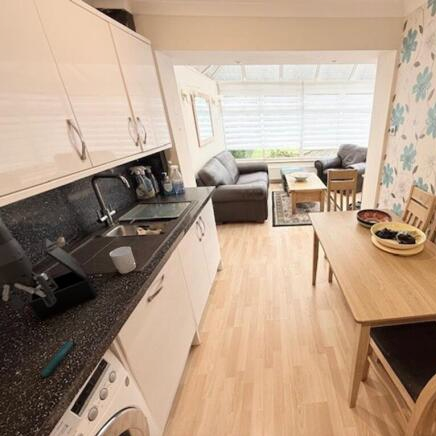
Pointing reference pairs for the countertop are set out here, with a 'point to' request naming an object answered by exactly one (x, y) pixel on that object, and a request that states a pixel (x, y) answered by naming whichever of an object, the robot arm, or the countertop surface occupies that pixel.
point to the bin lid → (63, 257)
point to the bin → (63, 295)
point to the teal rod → (57, 359)
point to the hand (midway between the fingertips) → (36, 306)
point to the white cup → (123, 259)
